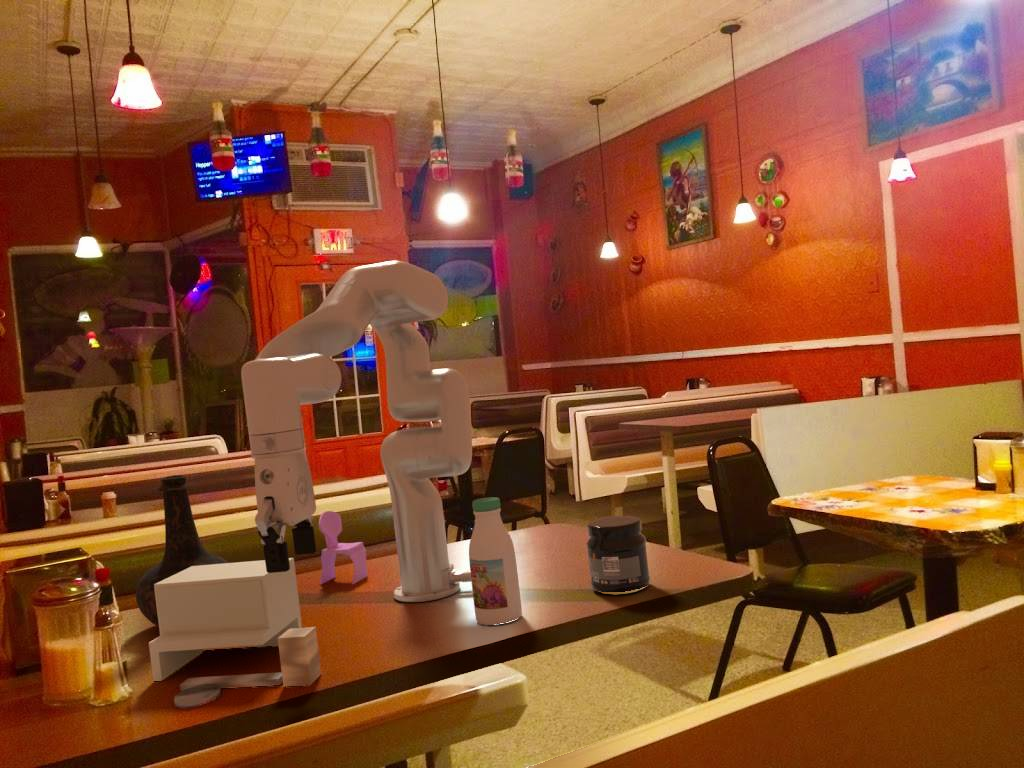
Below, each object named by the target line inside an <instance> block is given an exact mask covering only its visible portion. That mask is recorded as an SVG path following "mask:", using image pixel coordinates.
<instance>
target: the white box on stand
mask: <svg viewBox="0 0 1024 768" xmlns="http://www.w3.org/2000/svg"><path fill="white" fill-rule="evenodd" d="M289 564H290V569H289V570H288V571H286V572H276V573H268V572H267V571H266V563H265V559H263V560H261V559H260V560H251V561H249V560H248V561H239V562H229V563H224V564H212V565H200V566H191V567H189V568H187V569H185V570H183V571H181V572H179V573H177V574H175V575H173V576H171V577H168V578H166V579H164V580H162V581H160V582H158V583H156V584H154V589H155V598H156V606H157V614H158V622H159V627H158V629H159V636H158V637H156V638H154V639H153V640H151V641H149V642H148V648H149V655H150V665H151V674H152V681H162V680H164V679H165V678H166V677H168V676H169V675H171V674H172V673H173V672H175V671H176V670H178V669H179V668H180V667H182V666H183V665H184V664H186V663H187V662H188V661H190V660H192V659H193V658H195V657H196V656H197V655H198V654H200V653H201V652H202V651H204V650H205V649H211V648H212V649H213V648H228V647H229V648H230V647H257V648H267V647H266V646H272V647H279V645H278V638H279V637H280V636H281V635H282V634H284V633H285V632H286V631H287V630H288V629H292V628H303V625H302V615H301V608H300V600H299V590H298V582H297V573H296V565H295V558H294V557H289ZM195 659H196V658H195ZM192 661H193V660H192ZM182 668H183V667H182ZM179 670H180V669H179ZM179 670H178V671H179ZM175 673H176V672H175ZM172 675H173V674H172ZM172 675H171V676H172ZM169 677H170V676H169ZM169 677H168V678H169ZM165 680H166V679H165ZM165 680H164V681H165ZM162 682H163V681H162Z"/></svg>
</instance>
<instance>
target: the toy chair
mask: <svg viewBox="0 0 1024 768" xmlns="http://www.w3.org/2000/svg"><path fill="white" fill-rule="evenodd" d="M318 520H319V521H318V529H319V531H320V533H321V534H322V535H324V540H325V543H326V548H324V549H322V550H321V555H320V561H321V575H320V579H319V582H318V586H321V585H324V584H325V583H327V582H329V581H331V580H333V579H335V578H336V577H337V576H336V570H335V569H336V567H335V564H336V563H335V562H336V557H337V554H339V555H347V556H349V557H350V560H351V561H352V564H353V567H354V571H353V572H354V573H353V578H352V582H351V585H354V584H356V583H358V582H360V581H362V580H363V579H365V578H367V577H368V576H369V575H368V567H367V549H366V547H365V546H364V541H358V542H348V543H347V542H339V541H338V536H339V534H341V533H342V531H343V525H342V518H341V515H340V514H339V513H338V512H336V511H332V510H328V511H324V512H322V513H321V514H320V516H319V519H318Z"/></svg>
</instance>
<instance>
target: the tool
mask: <svg viewBox="0 0 1024 768" xmlns="http://www.w3.org/2000/svg"><path fill="white" fill-rule="evenodd" d="M278 645H279V646H278V650H279V661H280V669H281V671H279V672H278V671H277V672H265V673H248V674H232V675H230V674H229V675H216V676H215V675H214V676H201V677H200V676H198V677H197V676H196V677H188V678H187V679H185V680H184V681H183V682H182V683H180V684H179V689H180V692H181V691H183V690H185V689H188V688H191V687H194V686H198V685H204V684H216V685H219V686H220V688H228V687H245V686H246V687H248V686H250V687H251V686H268V687H271V686H270V685H280V684H281V683H282V682H283V683H282V684H283V688H284V687H285V686H286V688H288V687H287V686H303V685H311V684H312V683H313V682H314V681H315V680H316V679H317V678H318V677H319V676H320V675H321V676H322V669H321V661H320V652H319V644H318V635H317V627H316V626H310V627H306V626H305V627H302V628H292V629H288V630H287V631H286V632H285V633H284V634H282V635H281V636H280V637H279V638H278ZM321 676H320V677H321ZM320 677H319V678H320ZM319 678H318V679H319ZM318 679H317V680H318ZM317 680H316V681H317ZM316 681H315V682H316ZM315 682H314V683H315ZM314 683H313V684H314ZM282 684H281V685H282ZM313 684H312V685H313ZM312 685H311V686H312ZM303 687H304V686H303Z"/></svg>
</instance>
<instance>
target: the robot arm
mask: <svg viewBox="0 0 1024 768" xmlns="http://www.w3.org/2000/svg"><path fill="white" fill-rule="evenodd" d="M448 297H449V296H448V291H447V288H446V286H445V284H444V282H443V281H442V280H441V279H440V277H439V276H437V275H436V274H435V273H432V272H431V271H428V270H426V269H424V268H422V267H419V266H417V265H414V264H411V263H409V262H406V261H402V260H389V261H383V262H378V263H372V264H366V265H360V266H356V267H353V268H351V269H348V270H347V271H346V272H344V273H343V274H342V275H341V277H340V278H339V279H338V280H337V282H336V283H335V285H334V286H333V287H332V289H331V290H330V291H329V292H328V294H327V296H326V297H325V299H324V300H323V301H322V302H321V304H320V305H319V306H318V308H317V309H316V310H315V311H314V312H312V313H310V314H308V315H307V316H305V317H303V318H302V319H300V320H299V321H297V322H296V323H294V324H293V325H291V326H289V327H288V328H286V329H285V330H283V331H282V332H279V333H278V334H277V335H276V336H274V337H273V338H272V339H271V340H270V341H269V342H268V343H266V345H265V346H264V347H263V348H262V350H261V351H259V353H258V355H257V356H256V357H255V358H254V360H249V361H247V362H245V363H244V364H243V365H242V367H241V373H240V374H241V376H240V377H241V386H242V392H243V400H244V406H245V407H244V409H245V416H246V423H247V430H248V438H249V445H250V454H251V459H254V487H255V500H256V507H257V513H256V514H255V517H254V522H255V525H256V527H257V529H258V530H257V533H258V536H259V537H260V544H261V545H262V546H263V554H264V560H265V563H266V571H267V572H268V573H276V572H286V571H288V570H289V569H290V564H289V558H290V557H289V550H288V542H287V541H285V540H284V539H285V536H286V535H285V534H286V529H287V525H288V526H293V528H291V532H292V533H291V534H292V542H293V549H294V554H295V555H297V556H299V555H300V556H301V555H310V554H315V553H316V552H317V545H316V537H315V530H314V529H315V528H314V524H315V520H314V518H313V516H314V514H315V513H316V511H317V502H316V495H315V489H314V485H313V480H312V473H311V469H310V465H309V464H310V463H309V461H308V456H307V454H306V451H307V449H306V440H305V433H304V425H303V416H302V410H301V406H304V405H313V404H319V403H324V402H327V401H329V400H331V399H332V398H333V397H334V396H335V395H337V393H338V392H339V390H340V387H341V386H342V385H341V384H342V373H341V369H340V367H339V365H338V364H337V362H336V361H335V360H333V358H331V357H334V356H336V355H339V354H342V353H343V352H345V351H348V350H350V349H351V348H353V347H354V346H356V345H357V344H358V343H359V342H360V340H361V338H362V337H363V335H364V334H365V332H366V330H367V328H368V327H369V325H370V327H371V328H372V330H373V331H374V332H375V333H376V335H377V337H378V338H379V341H380V343H381V344H382V347H383V350H384V354H385V355H384V356H385V373H386V375H385V376H386V399H387V408H388V409H387V410H388V412H389V414H390V416H391V418H393V419H394V420H395V421H397V422H404V423H405V422H421V421H424V422H425V421H432V420H440V424H441V425H440V426H430V427H424V426H423V427H414V428H413V427H412V428H405V429H399V430H396V431H393V432H391V433H390V434H387V436H386V437H385V438H384V439H383V441H382V442H381V443H382V444H381V446H380V460H381V463H382V468H383V470H384V475H385V478H386V481H387V484H388V488H389V489H388V490H389V493H390V500H391V507H392V509H391V510H392V516H393V517H392V518H393V525H394V526H393V528H394V534H395V542H396V553H397V561H398V569H399V578H400V586H398V587H396V588H395V590H394V591H393V597H394V599H395V600H397V601H399V602H404V603H420V602H423V603H424V602H430V601H435V600H440V599H442V598H443V599H445V598H447V597H449V596H452V595H454V594H455V593H457V592H458V591H459V590H460V588H461V586H460V583H461V582H462V583H468V582H469V583H470V582H471V572H470V570H469V569H461V570H457V569H456V568H455V569H454V563H450V560H449V552H448V544H447V543H448V542H447V534H446V525H445V517H444V507H443V500H442V497H441V495H440V493H439V491H438V489H437V487H436V486H435V484H433V482H432V480H430V479H431V478H444V477H457V476H460V475H463V474H465V473H466V472H468V470H469V469H470V466H471V465H472V458H473V437H472V417H471V413H472V412H471V400H470V399H471V398H470V391H469V386H468V383H467V381H466V379H465V376H464V375H463V374H462V372H460V371H459V370H457V369H454V368H447V367H445V368H437V369H436V368H435V369H431V360H430V347H429V345H428V342H427V341H426V339H425V337H424V336H423V335H422V333H421V332H419V330H418V329H417V328H416V327H415V326H414V325H412V324H413V323H419V322H420V323H421V322H425V321H426V322H427V321H433V320H436V319H439V318H441V317H442V316H443V315H444V313H445V312H446V310H447V308H448V304H449V299H448ZM275 529H277V531H276V530H275ZM471 583H472V582H471Z"/></svg>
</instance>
